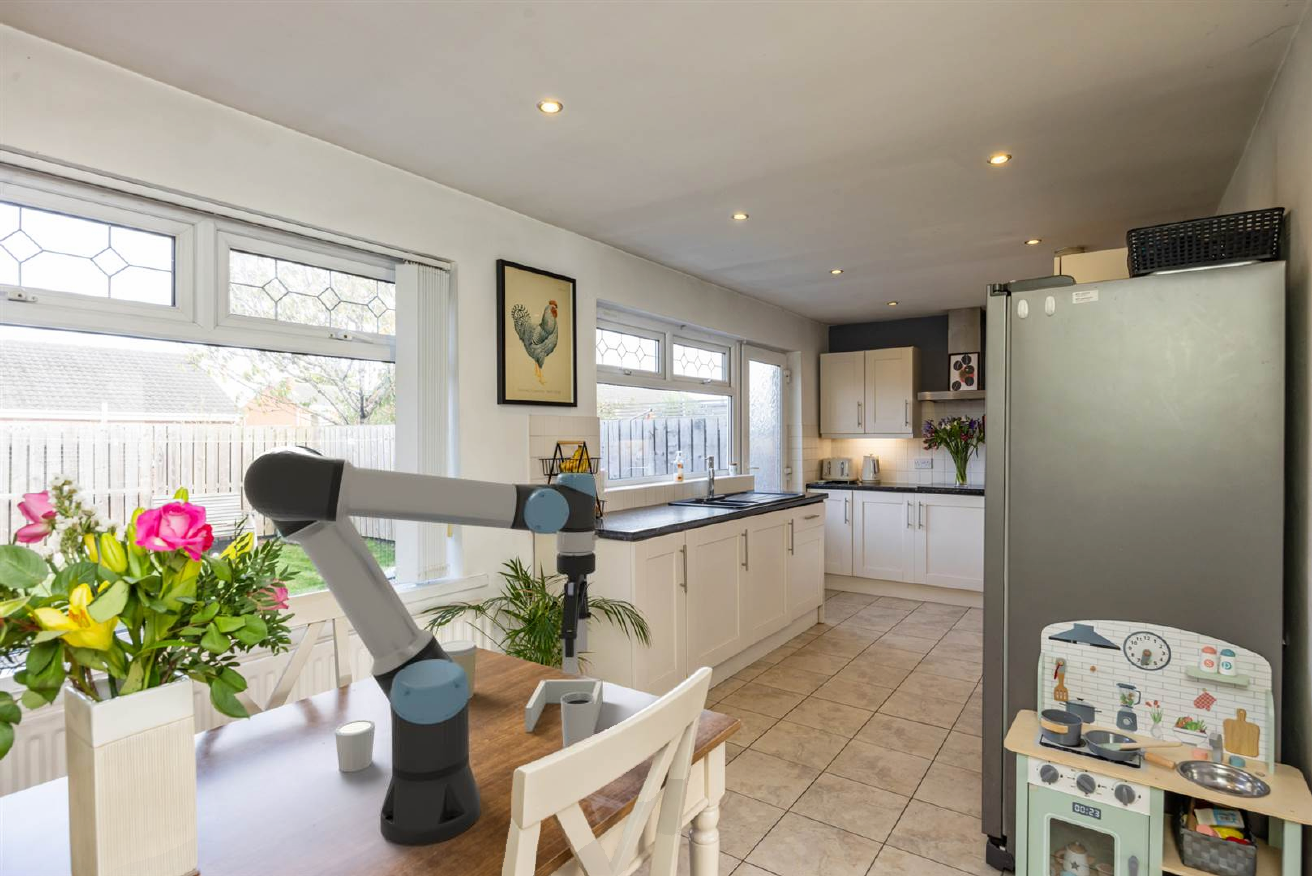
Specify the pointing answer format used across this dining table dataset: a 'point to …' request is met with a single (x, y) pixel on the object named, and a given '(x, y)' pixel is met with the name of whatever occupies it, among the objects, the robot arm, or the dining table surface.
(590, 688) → the u-shaped frame
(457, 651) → the coffee cup
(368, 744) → the white tapered cup
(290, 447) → the robot arm
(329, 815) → the dining table surface
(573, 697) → the white cup
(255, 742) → the dining table surface
